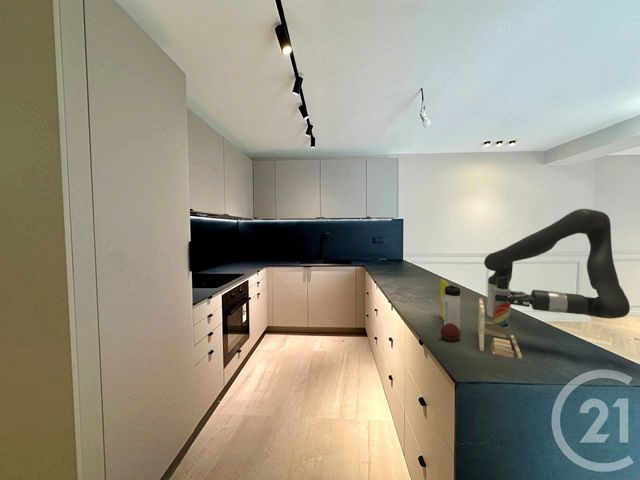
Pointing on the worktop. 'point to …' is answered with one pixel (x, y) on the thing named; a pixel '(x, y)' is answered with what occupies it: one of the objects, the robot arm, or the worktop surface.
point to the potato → (450, 332)
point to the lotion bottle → (501, 304)
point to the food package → (442, 297)
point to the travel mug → (452, 306)
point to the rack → (491, 330)
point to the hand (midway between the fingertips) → (494, 295)
